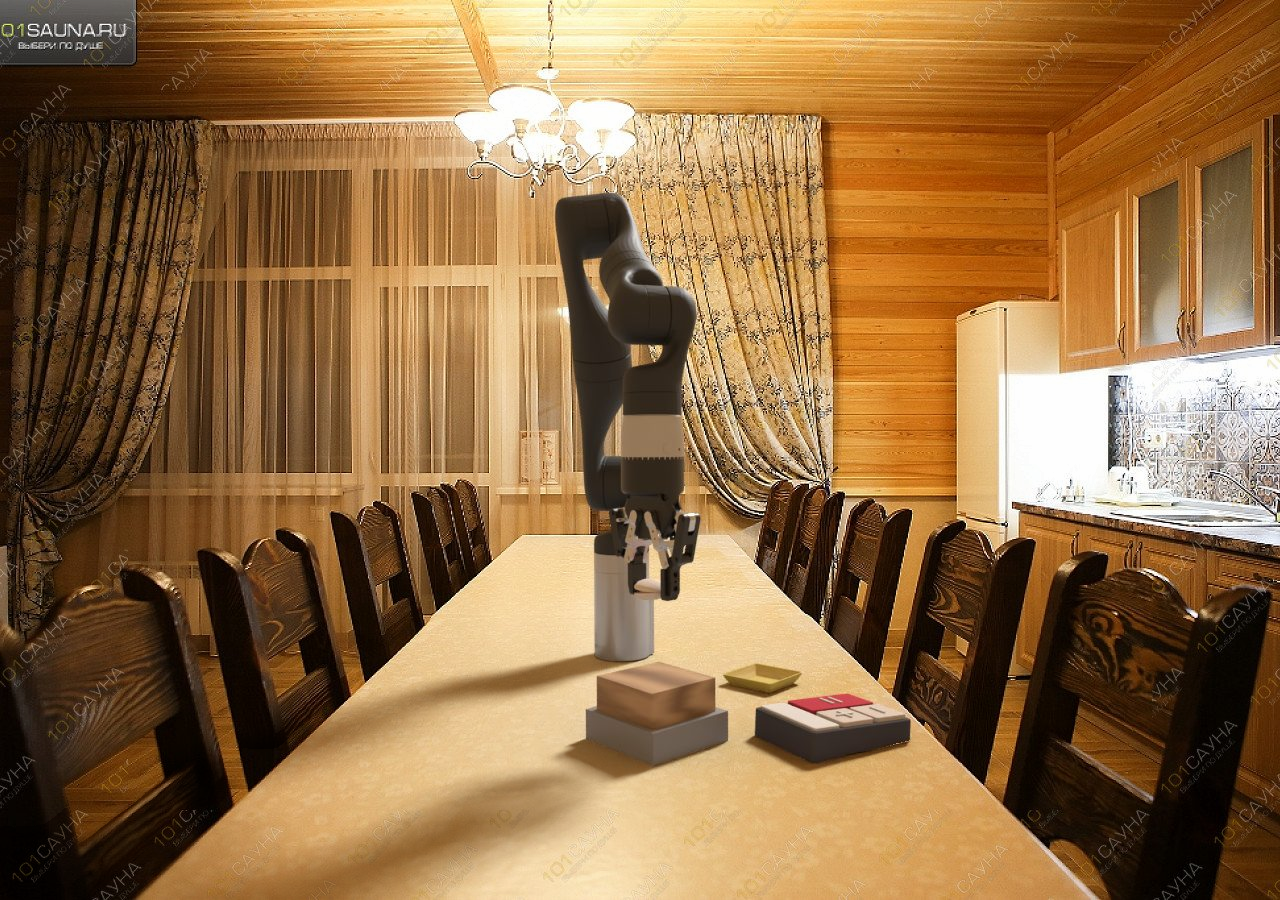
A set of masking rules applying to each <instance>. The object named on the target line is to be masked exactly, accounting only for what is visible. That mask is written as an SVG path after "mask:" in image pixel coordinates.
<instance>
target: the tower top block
mask: <svg viewBox="0 0 1280 900" xmlns="http://www.w3.org/2000/svg"><path fill="white" fill-rule="evenodd" d="M596 706H597V709H598V710H600V711H603V712H606V713H608V714H611V715H614V716H617V717H619V718H622V719H625V720H627V721H630V722H633V723H635V724H638V725H641V726H643V727H646V728H649V729H652V730H653V729H657V728H660V727H663V726H667V725H670V724H674V723H677V722H680V721H684V720H687V719H691V718H694V717H698V716H701V715H704V714H708V713H711V712H715V711H716V710H715V707H716V677H714V676H711V675H707V674H704V673H700V672H697V671H693V670H689V669H686V668H682V667H679V666H675V665H672V664H668V663H665V662H662V661H656V662H652V663H648V664H642V665H638V666H634V667H629V668H625V669H621V670H615V671H612V672H608V673H607V672H606V673H604V674H600V675H599V674H598V675H596Z"/></svg>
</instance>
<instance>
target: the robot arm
mask: <svg viewBox="0 0 1280 900" xmlns="http://www.w3.org/2000/svg"><path fill="white" fill-rule="evenodd" d="M554 223H555V225H554V226H555V232H556V239H557V241H556V242H557V247H558V253H559V258H560V259H559V260H560V263H561V269H562V276H563V282H564V287H565V288H564V289H565V293H566V300H567V301H566V302H567V308H568V317H569V318H568V319H569V321H568V322H569V330H570V343H571V354H572V355H571V357H572V365H573V373H574V381H575V389H576V393H577V402H578V408H579V410H578V411H579V419H580V428H581V445H582V446H581V447H582V449H581V450H582V469H583V470H582V471H583V473H582V474H583V487H584V495H585V499H586V502H587V503H586V504H587V505H588V507H589V508H591V510H593V511H598V512H608V517H609V523H610V530H606V531H604V532H601V533H599V534H597V535H595V537H594V540H593V573H594V574H593V585H594V586H593V587H594V588H593V591H594V592H593V595H594V597H593V600H594V604H593V605H594V624H593V625H594V628H593V629H594V633H593V634H594V638H593V640H594V641H593V643H594V657H596V658H598V659H600V660H604V661H608V662H609V661H611V662H630V661H633V662H634V661H638V660H643V659H646V658H648V657H649V656H650V655H652V654H655V600H642V599H640V598H638V597H637V596H636V595H634V593H635V592H638V591H639V590H636V589H635V588H634V586H635V584H636V583H637V582H638V581H640V580H643V579H650V546H651V545H652V548H653V549H654V551H656V552H657V555H658V558H659V562H660V566H661V568H660V571H659V572H660V573H659V574H660V576H659V577H660V579H659V580H660V586H661V598H660V600H661V601H666V602H671V601H677V599H678V598H679V595H680V592H681V578H680V577H681V568H682V566H684V565H687V564H692V563H693V562H694V560H695V553H696V548H697V543H698V537H699V530H700V525H701V519H702V518H701V514H699V513H698V512H694V513H693V512H692V513H689V512H687V511H684V510H683V507H682V505H681V501H680V496H681V494H683V492H684V491H685V435H684V433H685V432H684V426H683V417H682V413H683V412H682V405H683V403H682V400H683V399H682V391H683V386H682V385H683V377H684V371H685V367H686V366H685V365H686V361H687V356H688V352H689V348H690V345H691V341H692V340H693V339H692V338H693V335H694V331H695V328H696V323H697V306H696V302H695V300H694V297H693V296H692V294H691V293H690V292H689V291H688V290H687V289H685V288H683V287H680V286H670V285H669V286H667V285H664V283H663V279H662V277H661V275H660V273H659V272H658V270H657V268H656V267H655V266H654V264H653V262H652V261H651V260H650V259H649V257H648V255H647V254H646V251H645V248H644V246H643V243H642V238H641V235H640V232H639V229H638V227H637V224H636V221H635V217H634V216H633V212H632V209H631V207H630V205H629V203H628V202H627V200H626V199H625V198H624V197H623V195H621V194H619V193H616V192H600V193H594V194H593V193H590V194H585V195H584V194H583V195H573V196H565V197H562V198H559V199H558V200H557V202H556V204H555V210H554ZM595 259H600V262H599V267H598V275H599V276H598V277H599V280H600V283H601V285H602V288H603V290H604V292H605V293H606V296H608V300H609V303H608V308H607V307H606V306H605V305H604V303H603V302H602V300H601V299H600V298H599V296H598V295H597V293H596V291H595V290H594V288H593V287H592V284H591V283H590V281H589V279H588V276H587V274H586V270H585V266H584V261H586V260H595ZM631 345H632V346H633V345H634V346H635V345H637V346H662V347H661V348H662V349H661V353H660V355H659V357H658V358H657V360H655V361H653V362H649V363H643V364H640V365H636V366H635V365H634V366H633V362H632V347H631ZM620 409H622V415H623V416H622V424H621V430H620V455H606V453H605V441H606V436H607V434H608V432H609V429H610V427H611V425H612V422H613V421H614V419H615V417H616V416H617V414H618V412H619V411H620ZM669 552H670V555H671V556H670V555H669ZM639 592H640V591H639Z"/></svg>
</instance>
